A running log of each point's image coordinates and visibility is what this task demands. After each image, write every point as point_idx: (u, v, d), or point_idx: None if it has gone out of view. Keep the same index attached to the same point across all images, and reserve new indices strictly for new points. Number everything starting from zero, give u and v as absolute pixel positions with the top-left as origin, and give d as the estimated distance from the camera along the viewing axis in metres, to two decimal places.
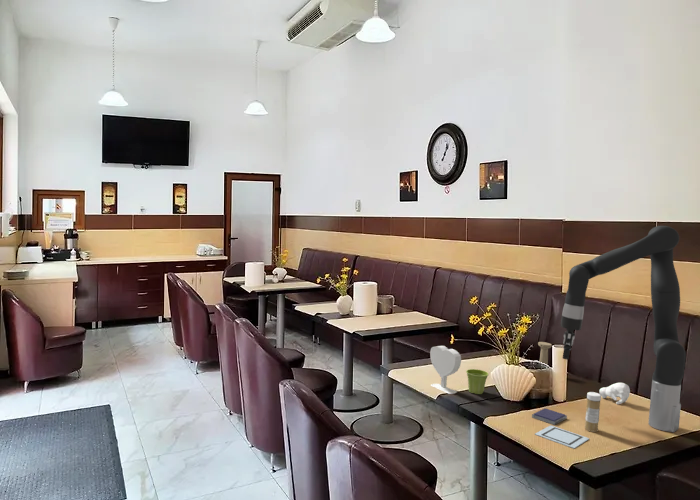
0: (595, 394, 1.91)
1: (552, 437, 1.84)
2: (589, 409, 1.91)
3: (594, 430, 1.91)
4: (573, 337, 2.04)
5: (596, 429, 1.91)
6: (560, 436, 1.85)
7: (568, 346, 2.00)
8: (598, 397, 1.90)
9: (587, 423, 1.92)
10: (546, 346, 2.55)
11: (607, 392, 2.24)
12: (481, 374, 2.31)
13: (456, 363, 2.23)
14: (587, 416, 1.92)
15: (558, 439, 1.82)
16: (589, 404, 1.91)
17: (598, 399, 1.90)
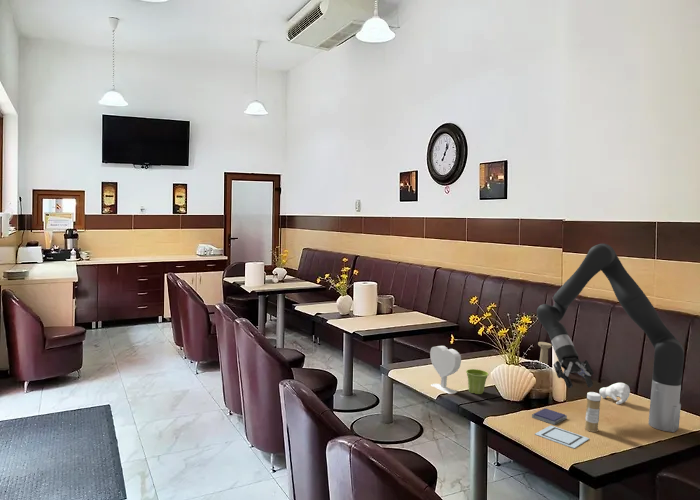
0: (595, 394, 1.91)
1: (552, 437, 1.84)
2: (589, 409, 1.91)
3: (594, 430, 1.91)
4: (568, 364, 2.03)
5: (596, 429, 1.91)
6: (560, 436, 1.85)
7: (559, 373, 2.01)
8: (598, 397, 1.90)
9: (587, 423, 1.92)
10: (546, 346, 2.55)
11: (607, 392, 2.24)
12: (481, 374, 2.31)
13: (456, 363, 2.23)
14: (587, 416, 1.92)
15: (558, 439, 1.82)
16: (589, 404, 1.91)
17: (598, 399, 1.90)
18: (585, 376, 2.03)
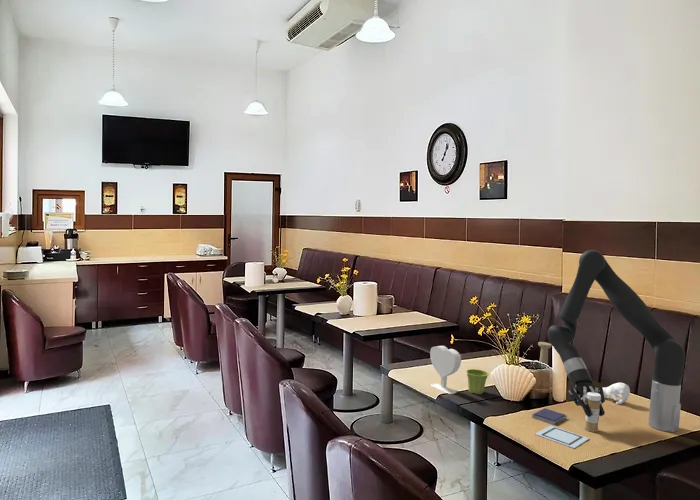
0: (595, 394, 1.91)
1: (552, 437, 1.84)
2: None
3: (594, 430, 1.91)
4: (583, 390, 1.95)
5: (596, 429, 1.91)
6: (560, 436, 1.85)
7: (578, 401, 1.93)
8: (598, 397, 1.90)
9: (587, 423, 1.92)
10: (546, 346, 2.55)
11: (607, 392, 2.24)
12: (481, 374, 2.31)
13: (456, 363, 2.23)
14: (587, 416, 1.92)
15: (558, 439, 1.82)
16: (589, 404, 1.91)
17: (598, 399, 1.90)
18: None
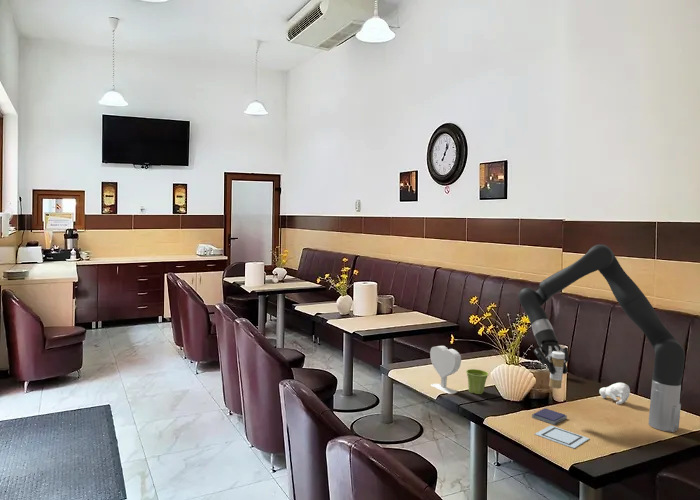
0: (559, 353, 1.99)
1: (552, 437, 1.84)
2: None
3: (557, 387, 1.98)
4: (548, 349, 2.02)
5: (559, 386, 1.99)
6: (560, 436, 1.85)
7: (543, 359, 2.00)
8: (562, 355, 1.97)
9: (551, 380, 2.00)
10: None
11: (607, 392, 2.24)
12: (481, 374, 2.31)
13: (456, 363, 2.23)
14: (551, 374, 1.99)
15: (558, 439, 1.82)
16: (553, 362, 1.99)
17: (562, 357, 1.97)
18: None
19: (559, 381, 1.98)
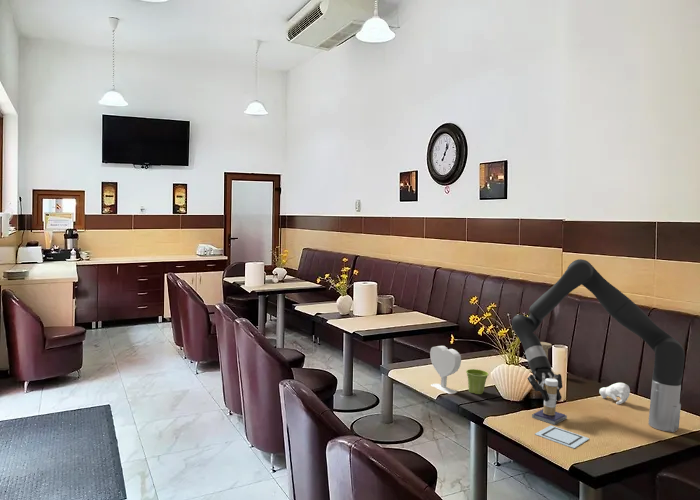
0: (552, 380, 2.01)
1: (552, 437, 1.84)
2: None
3: (551, 414, 2.00)
4: (541, 376, 2.04)
5: (553, 413, 2.01)
6: (560, 436, 1.85)
7: None
8: (555, 383, 1.99)
9: (545, 407, 2.02)
10: (546, 346, 2.55)
11: (607, 392, 2.24)
12: (481, 374, 2.31)
13: (456, 363, 2.23)
14: (545, 401, 2.01)
15: (558, 439, 1.82)
16: (546, 389, 2.01)
17: (555, 384, 1.99)
18: None
19: (553, 408, 2.00)
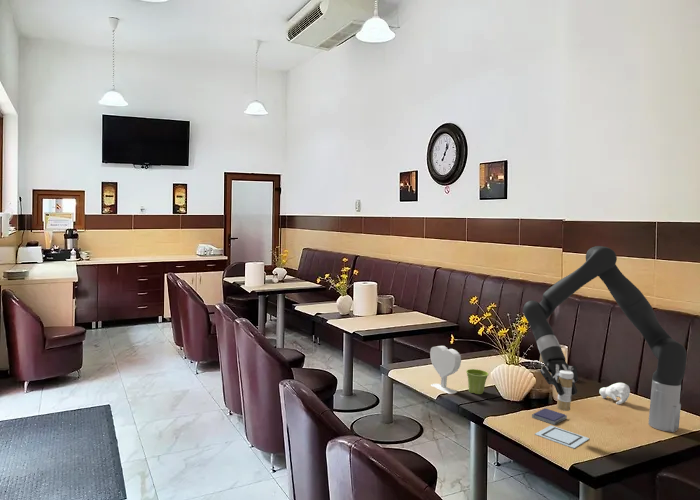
0: (567, 372, 1.83)
1: (552, 437, 1.84)
2: None
3: (566, 409, 1.83)
4: (555, 368, 1.86)
5: (568, 408, 1.83)
6: (560, 436, 1.85)
7: (549, 379, 1.84)
8: (570, 375, 1.82)
9: (559, 402, 1.84)
10: None
11: (607, 392, 2.24)
12: (481, 374, 2.31)
13: (456, 363, 2.23)
14: (559, 395, 1.84)
15: (558, 439, 1.82)
16: (561, 382, 1.83)
17: (570, 377, 1.82)
18: None
19: (568, 403, 1.83)
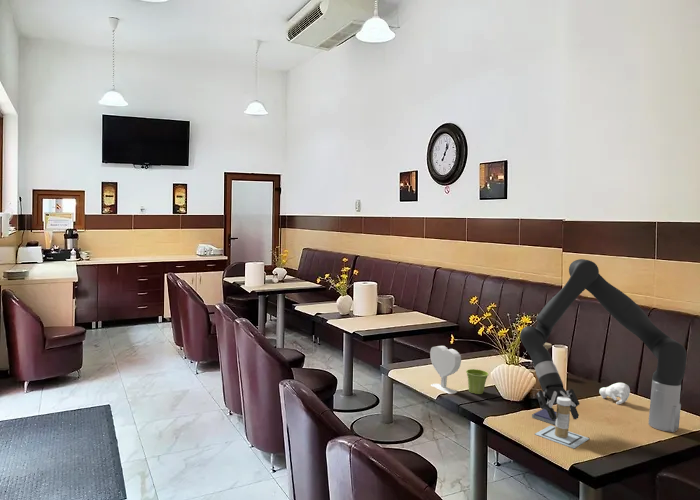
0: (565, 399, 1.84)
1: (552, 437, 1.84)
2: (558, 414, 1.84)
3: (564, 436, 1.84)
4: (552, 394, 1.87)
5: (566, 435, 1.84)
6: None
7: (542, 404, 1.85)
8: (568, 402, 1.83)
9: (557, 429, 1.85)
10: (546, 346, 2.55)
11: (607, 392, 2.24)
12: (481, 374, 2.31)
13: (456, 363, 2.23)
14: (557, 421, 1.85)
15: (558, 439, 1.82)
16: (558, 409, 1.84)
17: (568, 404, 1.83)
18: (570, 407, 1.87)
19: (565, 430, 1.84)
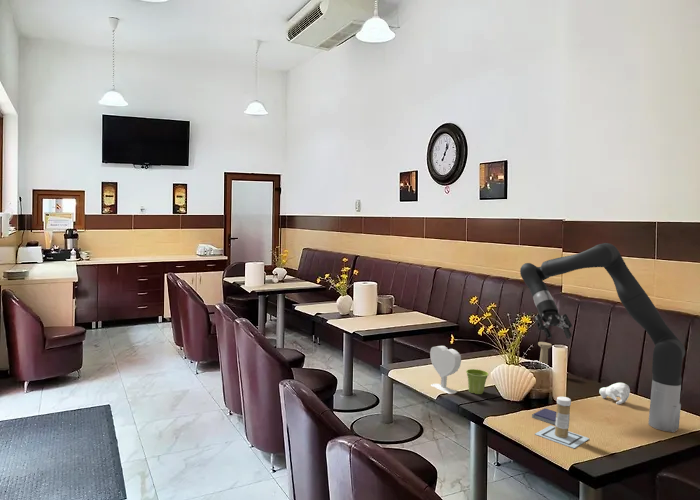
0: (565, 399, 1.84)
1: (552, 437, 1.84)
2: (558, 414, 1.84)
3: (564, 436, 1.84)
4: (548, 317, 2.15)
5: (566, 435, 1.84)
6: None
7: (539, 325, 2.13)
8: (568, 402, 1.83)
9: (557, 429, 1.85)
10: (546, 346, 2.55)
11: (607, 392, 2.24)
12: (481, 374, 2.31)
13: (456, 363, 2.23)
14: (557, 421, 1.85)
15: (558, 439, 1.82)
16: (558, 409, 1.84)
17: (568, 404, 1.83)
18: (564, 328, 2.15)
19: (565, 430, 1.84)
